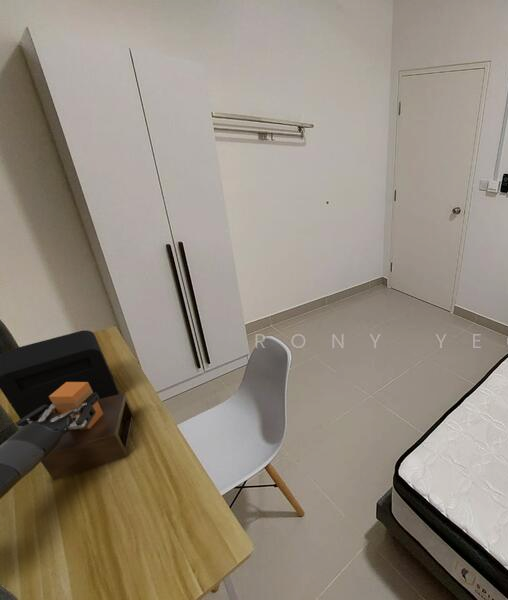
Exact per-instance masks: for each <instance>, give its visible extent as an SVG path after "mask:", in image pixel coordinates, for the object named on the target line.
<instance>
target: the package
mask: <svg viewBox="0 0 508 600" xmlns="http://www.w3.org/2000/svg"><path fill="white" fill-rule="evenodd" d="M92 393H93V391H92V389H91V387H90V385H89V383H88V382H66V383H64V384H63V385H62V386H61V387H60V388H58V389H57V390H56V391H55V392H54V393H52V394H51V395H50V396H49V398H50V400H51V402H52V404H53V405H54V407H56V410H57V412H58V413H59V414H60V413H64V412H66V411H67V410H69V409H70V408H75V407H77V406H79V405H80V404H82V402H83V401H84V400H85V399H86V398H87V397H89V396H90V395H91V394H92ZM93 408H94V410H95V411H96V413H95V415H94V417H93V418H92V420H91V421H90V423H89V424H88V426H87V428H86V429H90V428H91V427H92V425H93V424H94V423H95V422H96V421H97V420H98V419H99V418H100V417H101V416H102V415H103V412H102V410H101V408H100V406H99V403H98V401H97V402H96V403H95V404H94V405H93ZM81 411H82V409H81V410H79V411H78V413H80V412H81ZM70 416H71V418H73V417H72V415H71V414H70ZM77 429H79V428H77Z"/></svg>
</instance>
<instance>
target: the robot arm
mask: <svg viewBox="0 0 508 600" xmlns="http://www.w3.org/2000/svg"><path fill="white" fill-rule="evenodd" d="M98 400H99V396H98V394H97V393H92V394H91V395H90V396H89V397H87V398H86V399H85V400H84V401H83V402H82V404H80V405H79V406H77V407H75V408H70V409H69V410H67V411H66V412H64V413H60V414H59V413H58V412H57V410H56V407H54V405H53V404H51V405H50V406H47V405H42V406H41V407H39V408H38V409H36V410H35V411H33V412H31V413H30V414H28V415H27V416H25V417H24V418H22V419H19V420H18V421H16V422H15V425H16V426H17V428H18V430H17V431H16V432H14V433H13V434H12V435H11V436H10V437H8V438H7V439H6V440H5V441H4V442H2V443H1V444H0V500H2V499H3V498H4V497H5V496H6V495H7V494H8V493H9V492H10V491H11V490H12V489H13V488H14V487H15V486H16V485H17V484H18V483H19V482H21V481H22V479H24V478H25V477H27V475H29V474H30V473H31V472H32V471H33V470H34V469H35V468H36V467H37V466H38V465H39V464H40V463H42V462H41V461H42V460H43V459H44V458H45V457H46V456H47V455H48V454H49V453H50V452H51V451H52V450H53V449H54V448H55V447H56V446H57V445H58V443H59V441H60V439H61V437H62V436H63V435H64V434H66V433H67V432H69V431H70V430H71V429H77V428H79V430H80V431H82V430H85V429H86V428H87V426H88V424H89V423H90V421H91V420H92V418H93V417H94V415H95V413H96V411H95V410H94V408H93V405H94V404H95V403H96V402H97V401H98ZM81 409H82V411H81V412H80V413H78V411H79V410H81ZM40 412H43V414H41V415H40V416H38V414H39V413H40ZM70 414H71V415H72V417H73V418H71V416H70Z"/></svg>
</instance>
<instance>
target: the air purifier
mask: <svg viewBox="0 0 508 600" xmlns="http://www.w3.org/2000/svg"><path fill="white" fill-rule="evenodd" d="M66 382H88V383H89V385H90V387H91V389H92V391H93V393H97V394H98V396H99V399H102V398H106V397H110V396H114V395H118V394H120V393H119V390H118V387H117V385H116V382H115V379H114V375H113V374H112V371H111V368H110V367H109V364H108V363H107V359H106V357H105V355H104V353H103V351H102V348H101V346H100V343H99V342H98V339H97V337H96V334H95V333H94V332H92V331H91V330H87V329H85V330H83V329H82V330H80V331H75V332H71V333H68V334H64V335H60V336H56V337H53V338H48V339H44V340H41V341H37V342H34V343H29V344H25V345H22V346H19V347H14V348H10V349H7V350H5V351H3V352H1V353H0V391H1V392H2V394H3V396H4V397H5V398H6V400H7V402H8V403H9V404H10V406H11V407H12V409H13V411H14V412H15V413H16V415H17V416H18V418H19V420H21V419H22V418H24V417H25V416H27V415H28V414H30V413H31V412H33V411H35V410H36V409H38V408H39V407H41V406H42V405H47V406H50V405H51V404H52V402H51V400H50V398H49V396H50V395H51V394H52V393H54V392H55V391H56V390H57V389H58V388H60V387H61V386H62V385H63V384H64V383H66ZM41 414H43V412H40V413H39V414H38V416H40V415H41Z"/></svg>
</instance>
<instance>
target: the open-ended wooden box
mask: <svg viewBox="0 0 508 600" xmlns="http://www.w3.org/2000/svg"><path fill="white" fill-rule="evenodd" d="M98 403H99V406H100V408H101V410H102V412H103V415H102V416H101V417H100V418H99V419H98V420H97V421H96V422H95V423H94V424H93V425H92V427H91V428H90V429H85V430H82V431H80V430H79V429H71V430H70V431H69V432H67V433H66V434H64V435H63V436H62V437H61V439H60V441H59V443H58V445H57V446H56V447H55V448H54V449H53V450H52V451H51V452H50V453H49V454H48V455H47V456H46V457H45V458H44V459H43V460H42V461H41V462H40V463H41V464H42V466H43V467H44V468H45V470H46V471H47V473H48V474H49V476H50V477H51V479H52V480H53V481H56V480H59V479H62V478H65V477H68V476H72V475H75V474H78V473H82V472H85V471H88V470H91V469H94V468H97V467H100V466H103V465H107V464H110V463H113V462H116V461H119V460H122V459H126V458H127V456H128V451H127V450H128V446H129V441H130V435H131V432H132V431H131V429H132V425H133V421H134V420H133V419H135V413H134V411H133V408H132V406H131V404H130V402H129V399H128V397H127V394H126V393H125V392H122V393H119V394H118V395H114V396H110V397H106V398H102V399H99V400H98ZM122 422H125V424H124V430H123V434H122V439H121V437H120V435H119V432H120V427H121V423H122Z"/></svg>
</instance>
